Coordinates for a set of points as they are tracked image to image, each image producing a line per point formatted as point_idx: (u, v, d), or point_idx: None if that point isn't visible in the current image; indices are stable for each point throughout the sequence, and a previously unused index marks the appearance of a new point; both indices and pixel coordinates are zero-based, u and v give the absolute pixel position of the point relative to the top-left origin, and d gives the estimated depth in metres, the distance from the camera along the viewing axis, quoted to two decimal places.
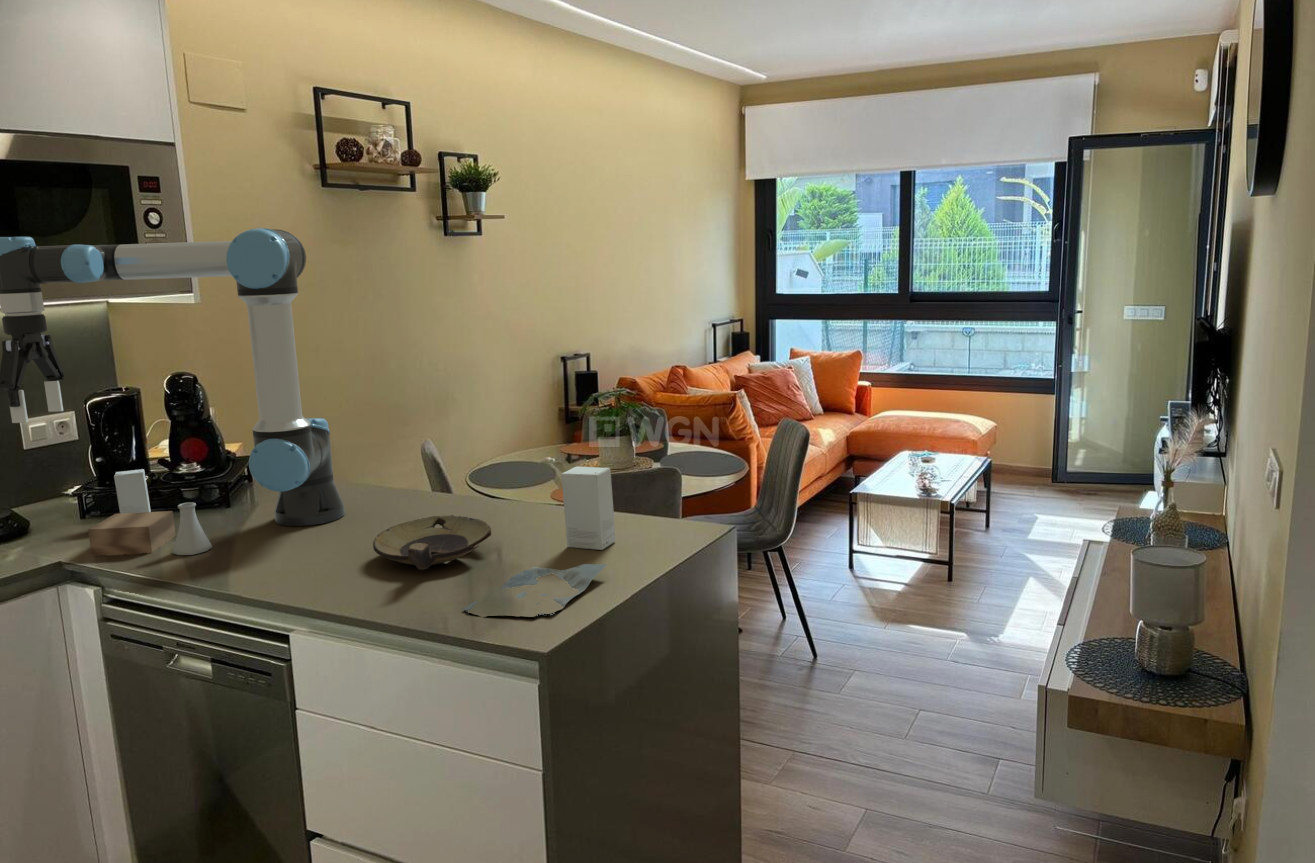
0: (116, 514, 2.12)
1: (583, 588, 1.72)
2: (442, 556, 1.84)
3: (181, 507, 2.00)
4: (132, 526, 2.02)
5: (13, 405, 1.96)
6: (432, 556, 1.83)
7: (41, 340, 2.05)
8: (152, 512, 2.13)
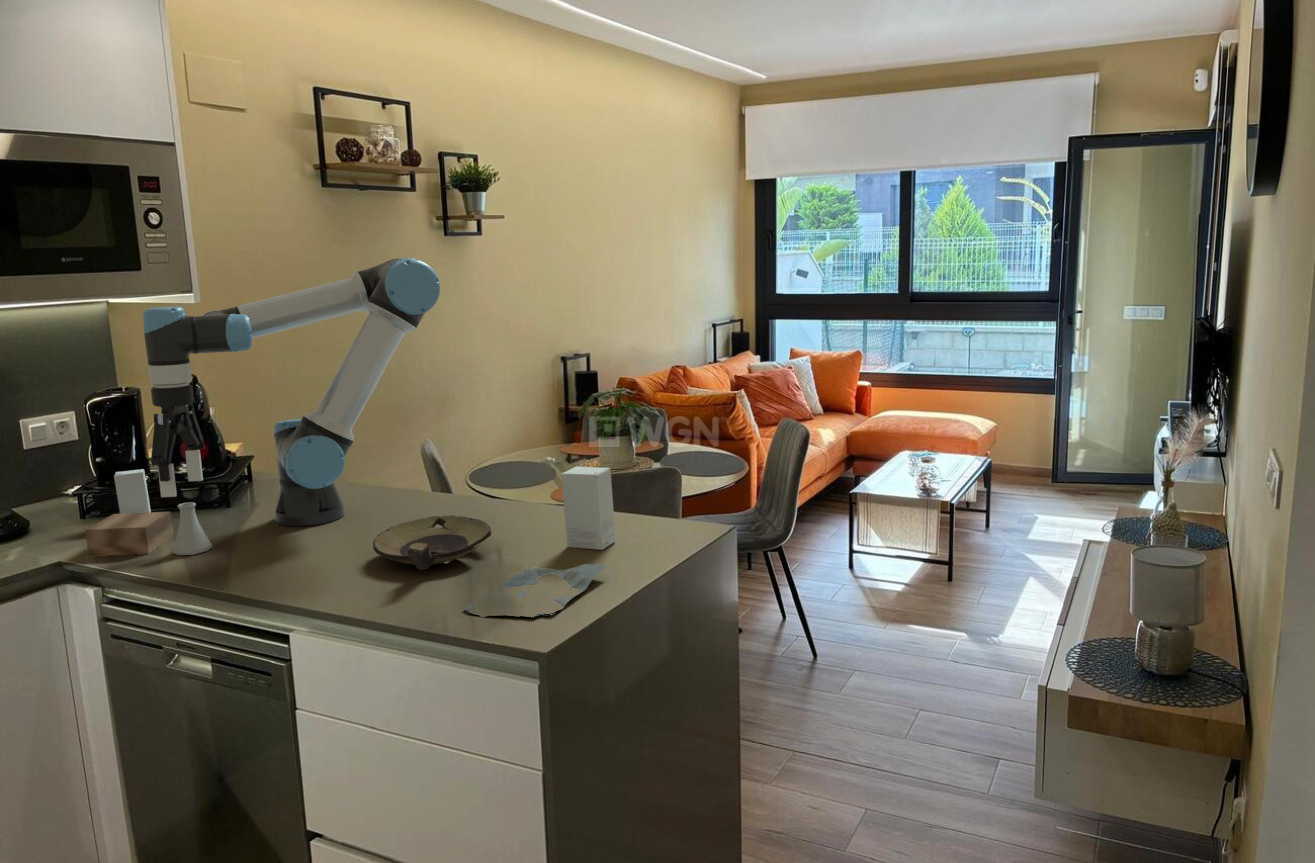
0: (114, 514, 2.12)
1: (583, 588, 1.72)
2: (442, 556, 1.84)
3: (181, 507, 2.00)
4: (129, 527, 2.02)
5: (163, 479, 1.92)
6: (432, 556, 1.83)
7: (186, 410, 2.01)
8: (150, 512, 2.13)
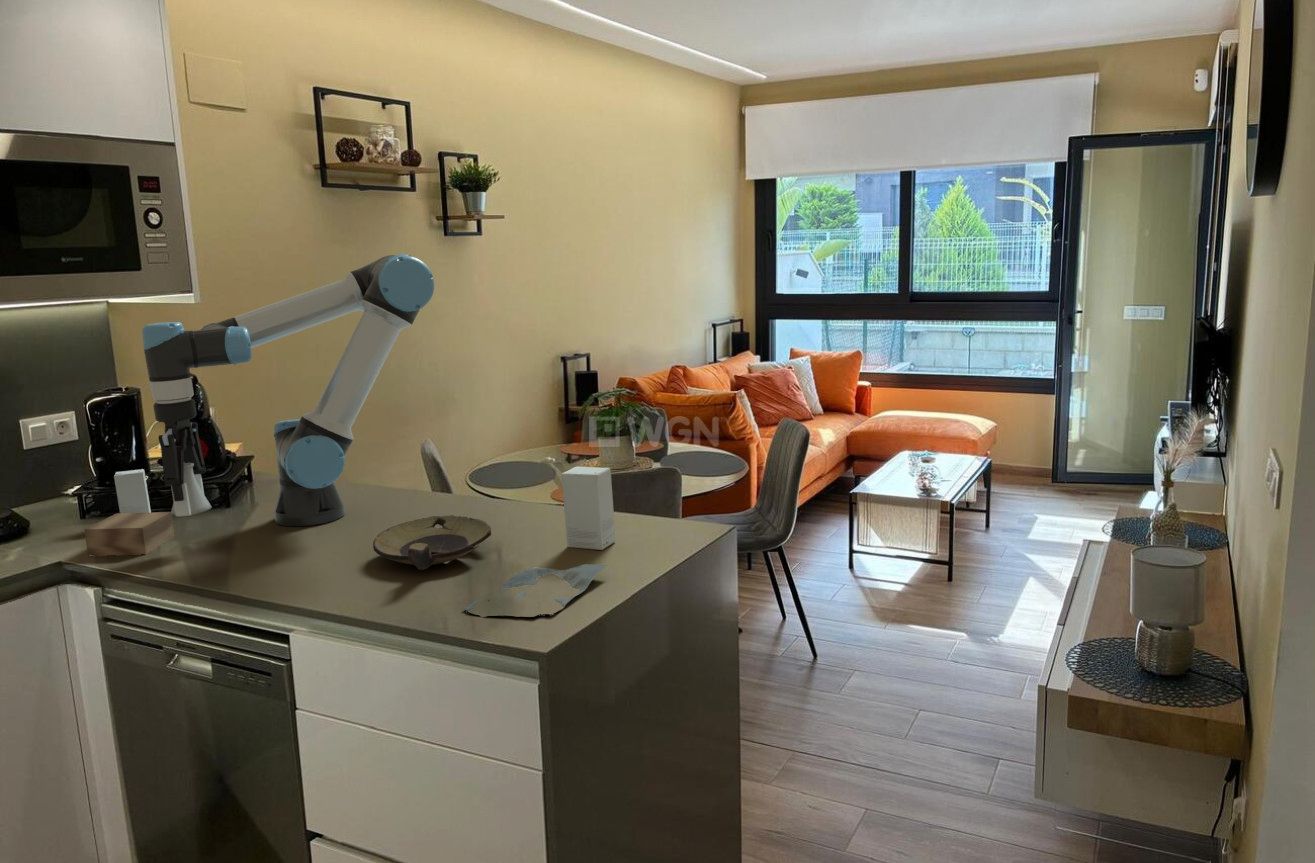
0: (116, 514, 2.12)
1: (583, 588, 1.72)
2: (442, 556, 1.84)
3: None
4: (127, 527, 2.02)
5: (177, 499, 1.96)
6: (432, 556, 1.83)
7: (189, 424, 2.02)
8: (151, 513, 2.12)
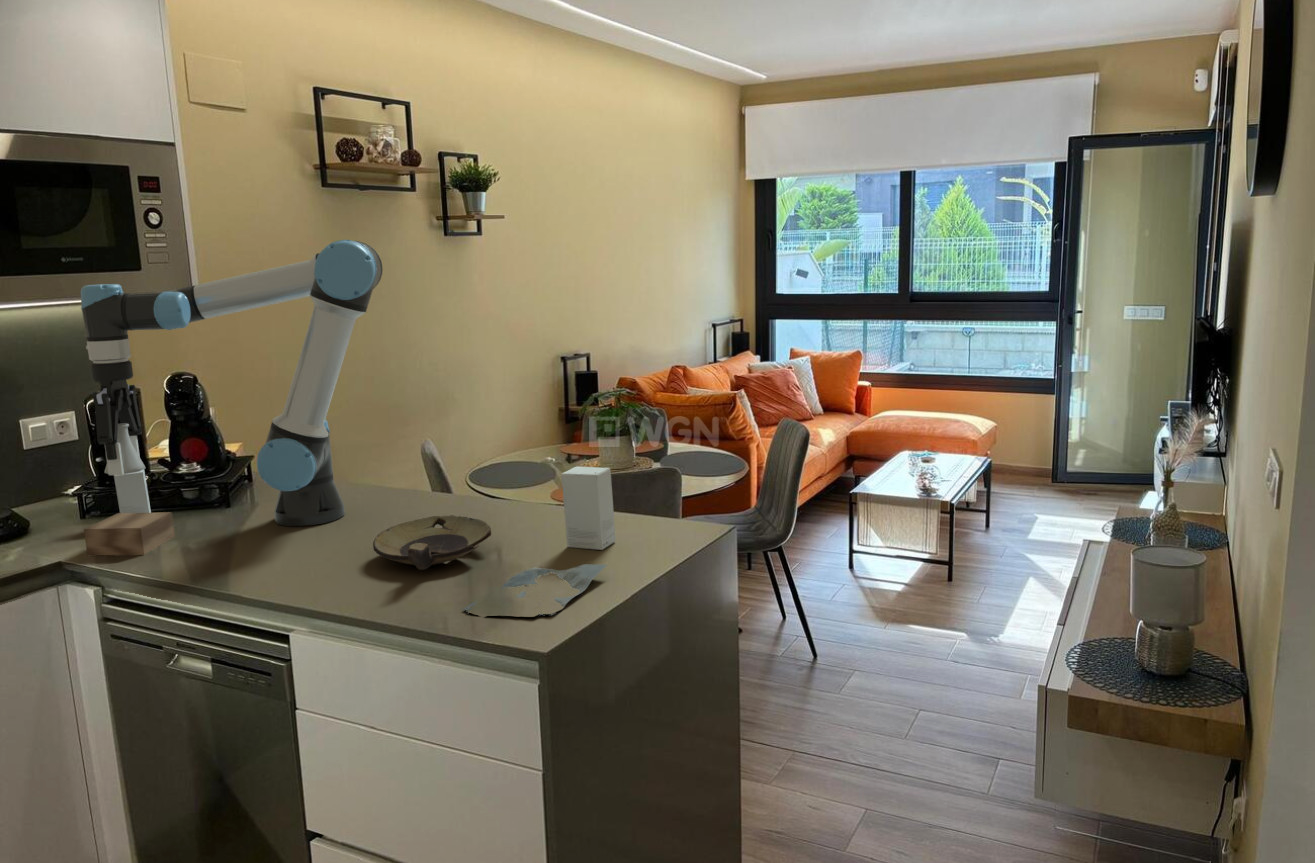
0: (118, 514, 2.13)
1: (583, 588, 1.72)
2: (442, 556, 1.84)
3: None
4: (126, 527, 2.02)
5: (110, 458, 2.00)
6: (432, 556, 1.83)
7: (126, 386, 2.06)
8: (152, 513, 2.12)
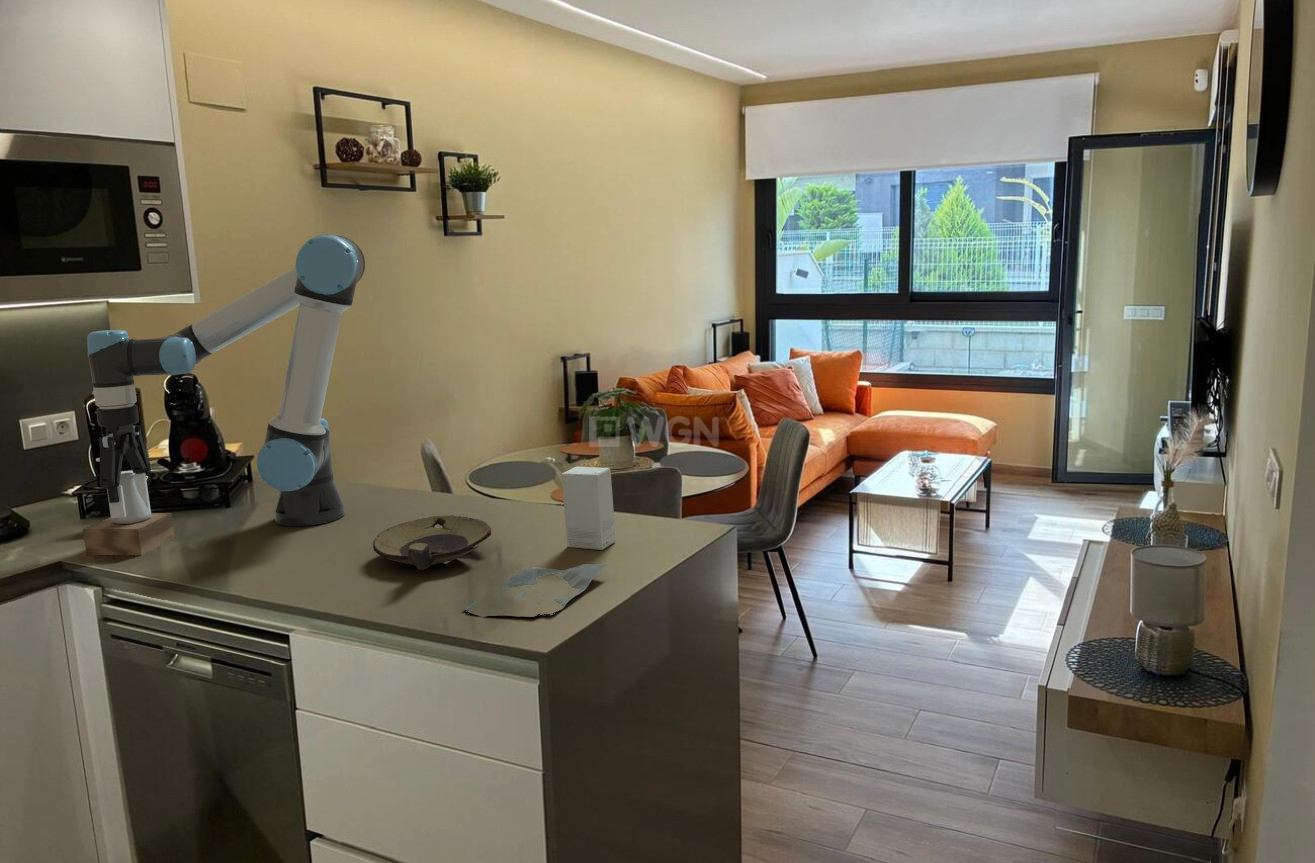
0: None
1: (583, 588, 1.72)
2: (442, 556, 1.84)
3: (120, 477, 2.04)
4: (124, 528, 2.02)
5: (113, 501, 2.00)
6: (432, 556, 1.83)
7: (132, 430, 2.07)
8: (152, 513, 2.12)
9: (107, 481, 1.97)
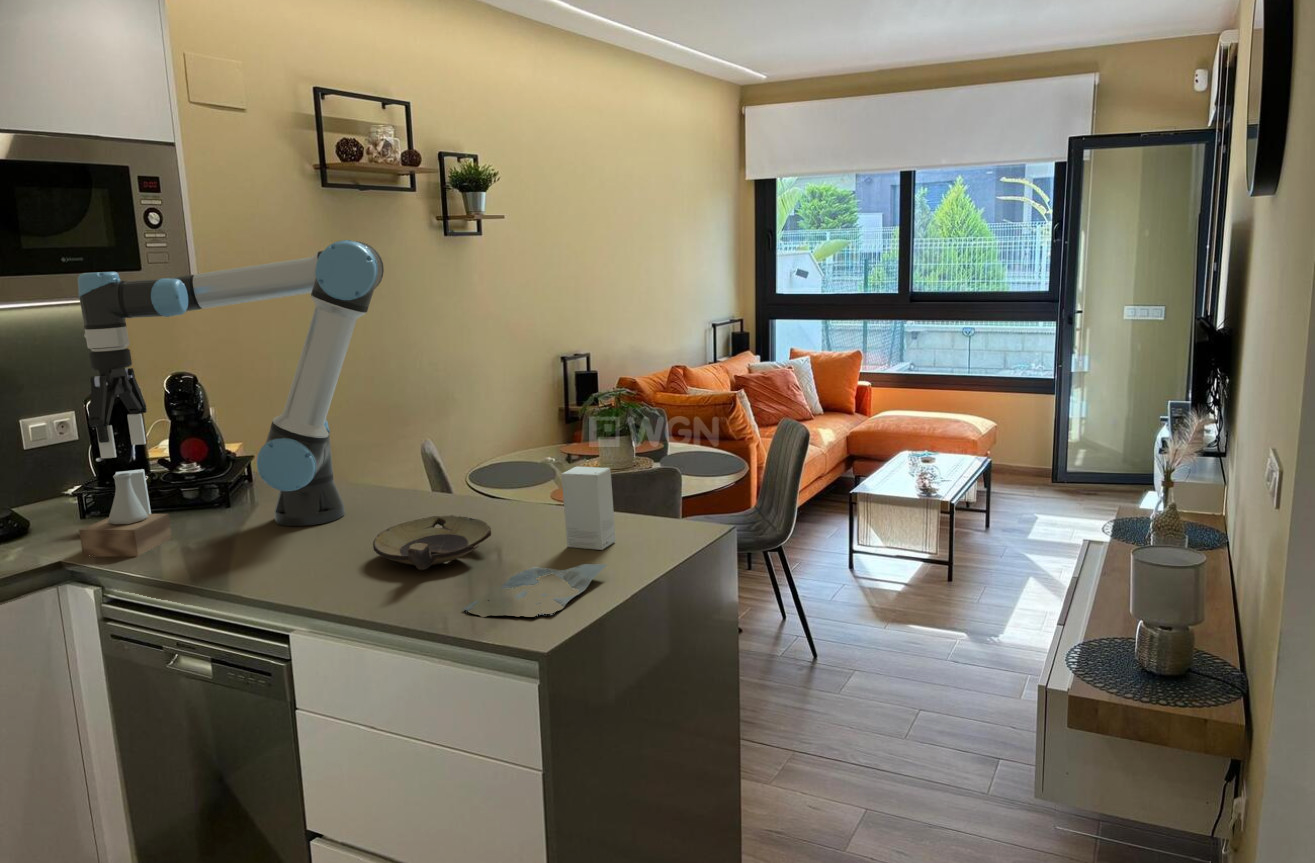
0: None
1: (583, 588, 1.72)
2: (442, 556, 1.84)
3: (116, 477, 2.04)
4: (120, 528, 2.01)
5: (102, 441, 1.96)
6: (432, 556, 1.83)
7: (125, 374, 2.05)
8: (149, 514, 2.12)
9: (96, 420, 1.94)
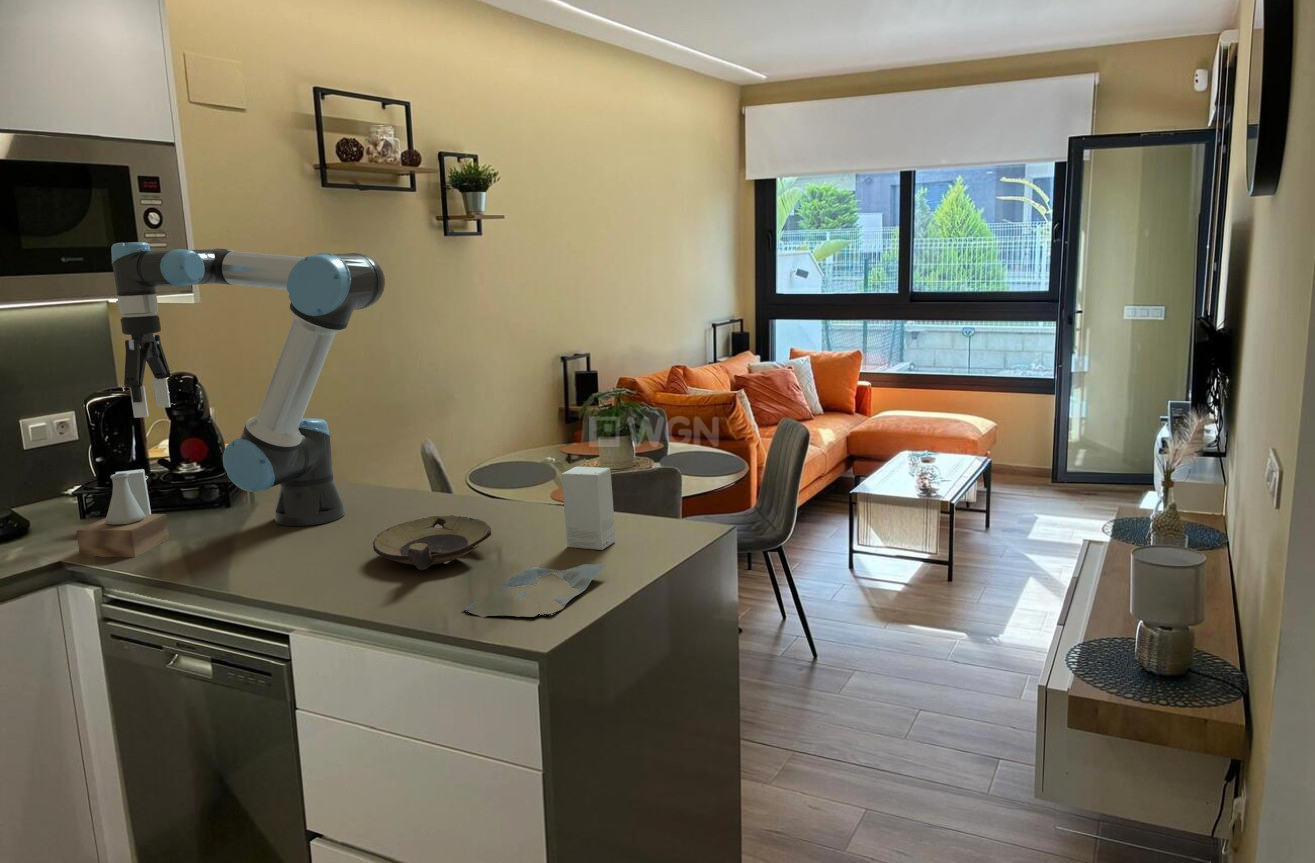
0: None
1: (583, 588, 1.72)
2: (442, 556, 1.84)
3: (114, 477, 2.03)
4: (117, 529, 2.01)
5: (136, 401, 2.08)
6: (432, 556, 1.83)
7: (153, 340, 2.17)
8: (147, 514, 2.11)
9: (131, 380, 2.06)
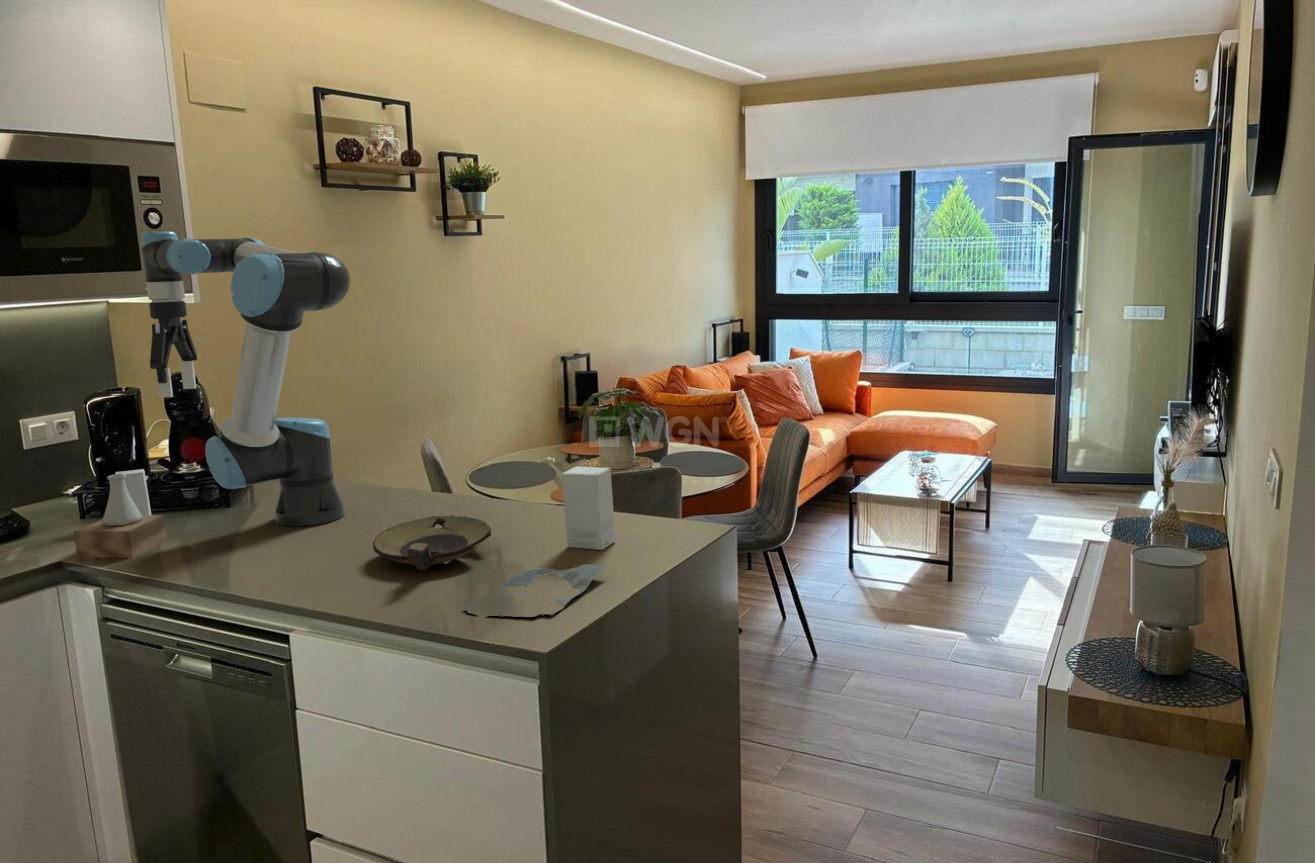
0: None
1: (583, 588, 1.72)
2: (442, 556, 1.84)
3: (111, 478, 2.03)
4: (114, 530, 2.00)
5: (161, 381, 2.20)
6: (432, 556, 1.83)
7: (180, 324, 2.29)
8: (144, 515, 2.11)
9: (157, 362, 2.18)
